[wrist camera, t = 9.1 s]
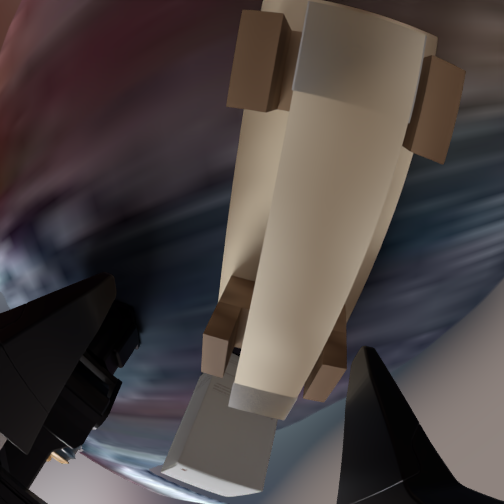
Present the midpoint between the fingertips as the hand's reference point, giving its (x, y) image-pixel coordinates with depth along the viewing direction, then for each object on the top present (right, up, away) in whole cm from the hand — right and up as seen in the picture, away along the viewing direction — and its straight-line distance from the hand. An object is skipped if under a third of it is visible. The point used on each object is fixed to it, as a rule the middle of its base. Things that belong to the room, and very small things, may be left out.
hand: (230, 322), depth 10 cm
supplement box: (0, -11, +20) cm, 23 cm away
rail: (+4, +3, +6) cm, 7 cm away
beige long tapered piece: (+4, +5, +9) cm, 11 cm away
